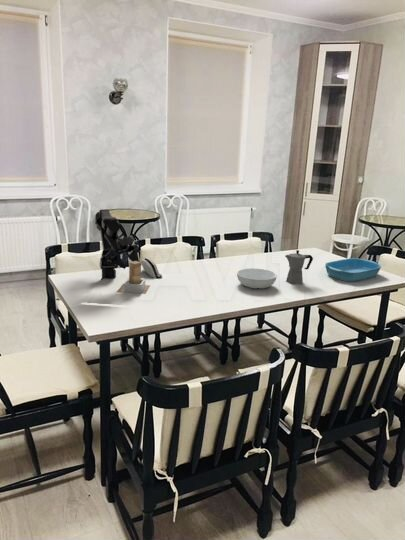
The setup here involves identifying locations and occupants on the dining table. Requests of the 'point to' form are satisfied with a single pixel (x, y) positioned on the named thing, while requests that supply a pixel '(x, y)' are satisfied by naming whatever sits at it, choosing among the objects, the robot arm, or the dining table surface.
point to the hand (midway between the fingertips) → (131, 266)
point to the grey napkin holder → (150, 267)
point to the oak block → (135, 272)
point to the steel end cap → (134, 287)
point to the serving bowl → (256, 277)
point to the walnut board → (139, 293)
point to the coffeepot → (296, 267)
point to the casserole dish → (352, 269)
